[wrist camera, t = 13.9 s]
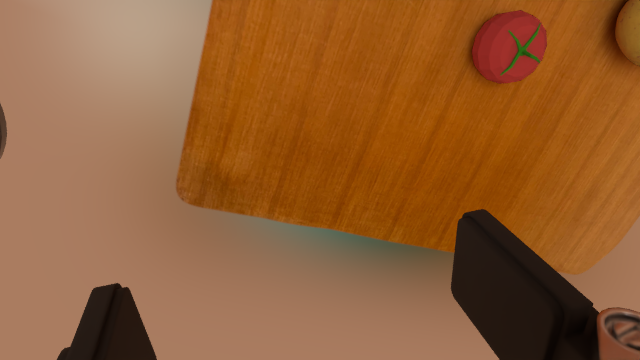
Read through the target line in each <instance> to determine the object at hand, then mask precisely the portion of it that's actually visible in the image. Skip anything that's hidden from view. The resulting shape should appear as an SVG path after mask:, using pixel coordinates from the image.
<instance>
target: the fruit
mask: <svg viewBox="0 0 640 360" xmlns="http://www.w3.org/2000/svg"><path fill="white" fill-rule="evenodd" d="M615 36H616V41H617V43H618V45H619V48H620V49H621V51H622V52H623V53H624V55H625V56H626V58H627V59H628V60H630V61H631V62H632V63H634V64H635V65H637V66H640V0H628V1H627V2H626V4H625V5H624V7H623V8H622V10H621V11H620V13H619V15H618V18H617V22H616V28H615Z"/></svg>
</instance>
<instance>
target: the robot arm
mask: <svg viewBox="0 0 640 360" xmlns="http://www.w3.org/2000/svg"><path fill="white" fill-rule="evenodd" d="M451 291H452V294H453V296H454V298H455V300H456V301H457V302H458V304H459V305H460V306H461V308H462V309H463V311H464V312H465V313H466V314H467V316H468V317H469V319H470V320H471V321H472V323H473V324H474V325H475V327H476V328H477V329H478V331H479V332H480V334H481V335H482V336H483V338H484V339H485V340H486V342H487V343H488V344H489V346H490V347H491V349H492V350H493V351H494V353H495V354H496V355H497V357H498V358H499V359H500V360H640V312H636V311H633V310H630V309H625V308H608V309H605V310H603V311H601V312H600V313H599V312H598V311H597V310H596V309H595V308H593V307H592V306H593V303H592V302H591V301H590V300H589V299H587V298H586V297H585V296H584V295H583V294H582V293H580V292H579V291H578V290H577V289H576V288H575V287H574V286H572V285H571V284H570V283H569V282H568V281H567V280H566V279H564V278H563V277H562V276H561V275H560V274H559V273H558V272H556V271H555V270H554V269H553V268H552V267H551V266H550V265H548V264H547V263H546V262H545V261H544V260H543V259H542V258H540V257H539V256H538V255H537V254H536V253H535V252H533V251H532V250H531V249H530V248H529V247H528V246H527V245H525V244H524V243H523V242H522V241H521V240H520V239H519V238H517V237H516V236H515V235H514V234H513V233H512V232H511V231H509V230H508V229H507V228H506V227H505V226H504V225H503V224H501V223H500V222H499V221H498V220H497V219H496V218H495V217H493V216H492V215H491V214H490V213H489V212H488V211H486V210H484V209H481V210H476V211H471V212H466V213H464V214H463V216H462V218H461V219H459V221H458V226H457V235H456V244H455V254H454V264H453V273H452V282H451ZM57 360H157V359H156V355H155V352H154V350H153V347H152V345H151V342H150V340H149V337H148V335H147V332H146V330H145V327H144V325H143V322H142V320H141V318H140V314H139V312H138V309H137V307H136V305H135V302H134V299H133V297H132V294H131V292H130V290H129V288H128V287H124V288H122V287H121V285H120V284H118V283H116V284H111V285H106V286H101V287H96V288H94V289H93V290H92V292H91V294H90V297H89V300H88V302H87V305H86V307H85V310H84V313H83V315H82V318H81V321H80V324H79V326H78V328H77V331H76V334H75V336H74V339H73V341H72V344H71V347H68V348H65V349H63V350H62V351H61V353H60V355H59V356H58V358H57Z"/></svg>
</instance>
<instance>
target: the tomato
mask: <svg viewBox="0 0 640 360" xmlns="http://www.w3.org/2000/svg"><path fill="white" fill-rule="evenodd" d="M546 46H547V37H546V30H545V28H544V27H543V25H542V23H541V22H540V20H538V19H537V18H536V17H534V16H533V15H530V14H528V13H526V12H524V11H521V10H519V11H513V12H508V13H502V14H497V15H495V16H494V17H493V18H491V19H490V20H488V21H487V22H486V23H484V25H483V26H482V28H481V29H480V31H479V32H478V34H477V35H476V37H475V41H474V45H473V49H472V55H473V62H474V65H475V67H476V68H477V69H478V71H479V72H480V73H481V74H482V75H483V76H484V77H485V78H486V79H488V80H490V81H493V82H496V83H499V84H500V83H511V82H516V81H521V80H522V79H524V78H525V77H527V76H528V75H530V74H531V73H532V72H533V71H534V70H535V69H536V67H537V66H538V65H539V63H540V62H541V61H542V59H543V56H544V52H545V49H546Z"/></svg>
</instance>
